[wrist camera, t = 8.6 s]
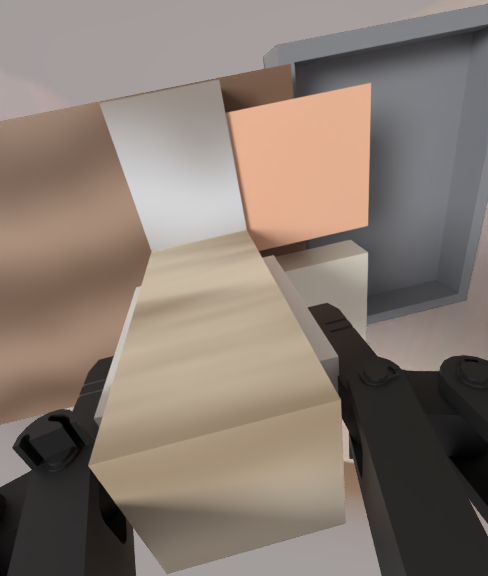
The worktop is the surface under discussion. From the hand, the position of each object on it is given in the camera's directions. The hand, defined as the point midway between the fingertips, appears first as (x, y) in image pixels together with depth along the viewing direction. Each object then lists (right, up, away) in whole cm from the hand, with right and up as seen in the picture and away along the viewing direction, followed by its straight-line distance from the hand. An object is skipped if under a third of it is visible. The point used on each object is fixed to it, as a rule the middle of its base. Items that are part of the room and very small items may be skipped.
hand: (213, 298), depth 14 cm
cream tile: (+5, 0, +5) cm, 7 cm away
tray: (+10, +7, +8) cm, 15 cm away
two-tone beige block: (-1, +2, +3) cm, 4 cm away
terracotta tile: (+4, +6, +2) cm, 8 cm away
